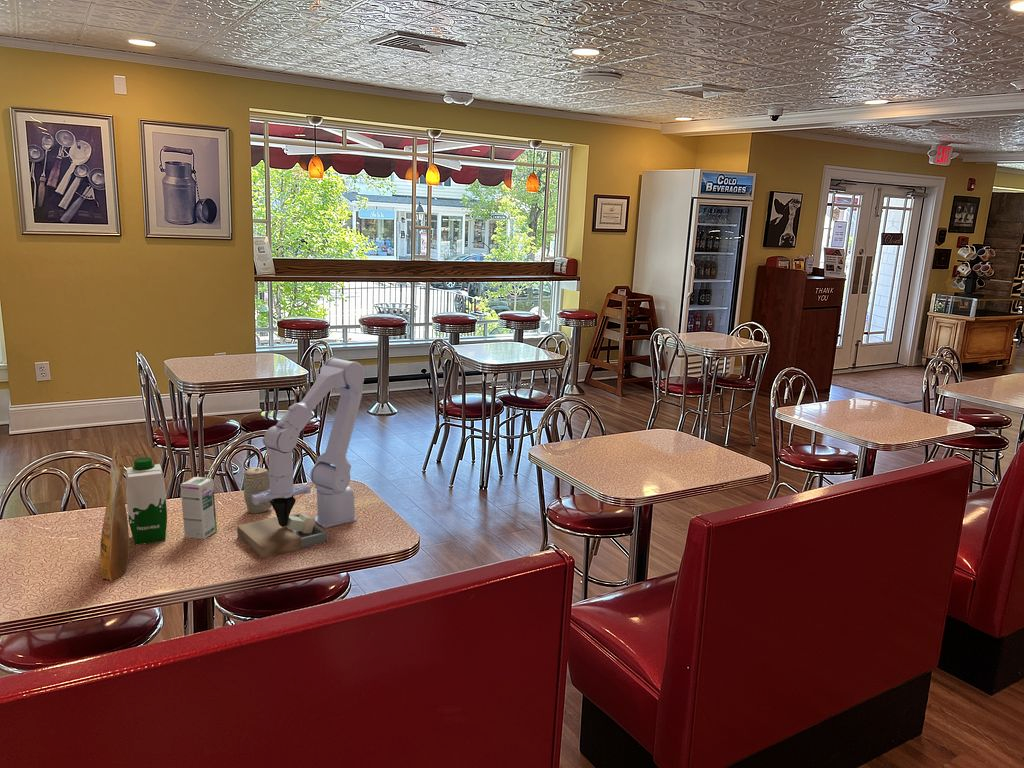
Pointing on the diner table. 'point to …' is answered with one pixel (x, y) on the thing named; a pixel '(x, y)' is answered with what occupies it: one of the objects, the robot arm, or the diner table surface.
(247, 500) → the carving
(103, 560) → the pancake mix bag
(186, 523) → the syrup box
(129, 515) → the milk carton
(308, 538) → the box
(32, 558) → the diner table surface
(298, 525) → the tile
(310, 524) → the tile
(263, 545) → the board
